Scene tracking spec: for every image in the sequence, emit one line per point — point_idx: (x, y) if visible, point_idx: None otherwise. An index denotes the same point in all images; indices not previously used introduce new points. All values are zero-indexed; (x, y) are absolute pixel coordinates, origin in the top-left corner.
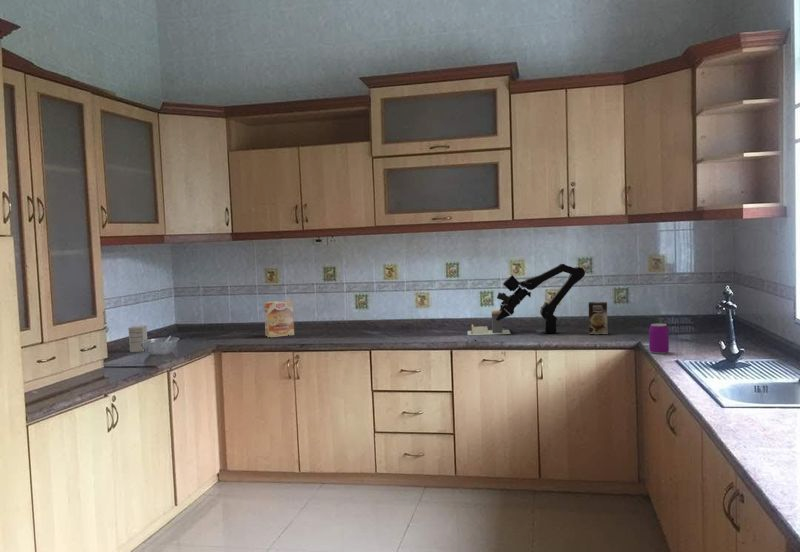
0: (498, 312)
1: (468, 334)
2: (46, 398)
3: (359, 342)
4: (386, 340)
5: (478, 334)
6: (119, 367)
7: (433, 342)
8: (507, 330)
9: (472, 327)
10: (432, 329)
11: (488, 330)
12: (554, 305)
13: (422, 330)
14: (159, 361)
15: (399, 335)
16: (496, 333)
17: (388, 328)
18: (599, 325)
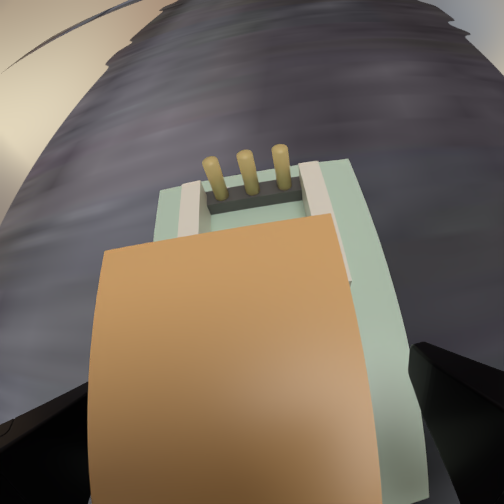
0: (103, 422)
1: (177, 191)
2: (26, 54)
3: (170, 26)
4: (181, 38)
5: None
6: (105, 11)
7: (87, 125)
8: (384, 496)
9: (206, 173)
10: (428, 62)
11: (391, 305)
12: None
13: (394, 46)
14: (119, 7)
15: (272, 28)
16: None
17: (402, 14)
18: None
